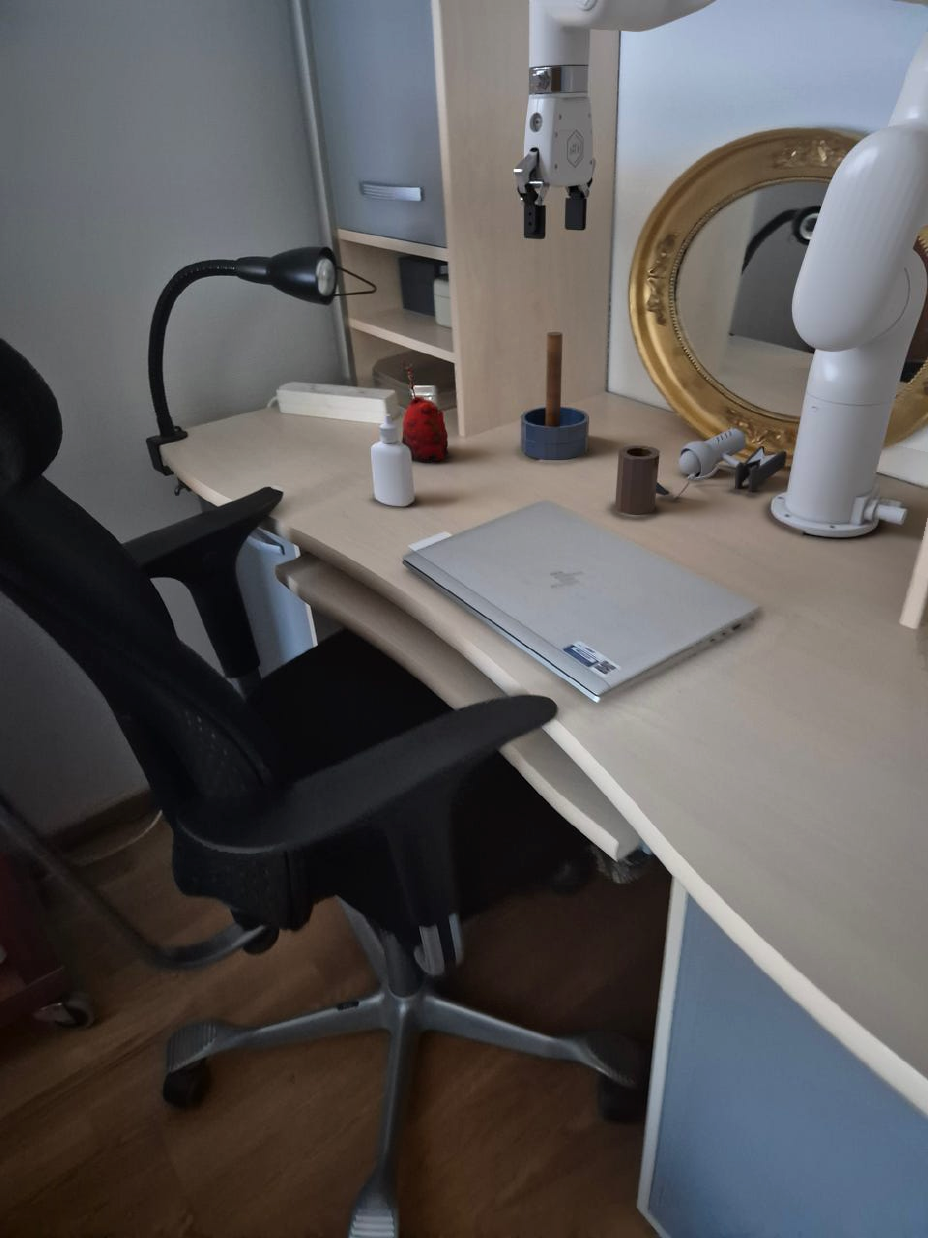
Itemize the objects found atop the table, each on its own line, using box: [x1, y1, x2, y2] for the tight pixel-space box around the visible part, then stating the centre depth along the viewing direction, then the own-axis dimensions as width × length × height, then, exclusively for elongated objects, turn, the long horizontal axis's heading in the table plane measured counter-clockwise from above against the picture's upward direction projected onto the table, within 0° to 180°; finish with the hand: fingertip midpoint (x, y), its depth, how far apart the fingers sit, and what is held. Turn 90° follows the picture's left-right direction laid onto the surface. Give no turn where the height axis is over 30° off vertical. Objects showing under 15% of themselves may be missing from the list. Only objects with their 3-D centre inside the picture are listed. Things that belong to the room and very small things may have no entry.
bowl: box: [520, 406, 590, 461], centre depth 123 cm, size 10×10×6 cm
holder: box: [614, 444, 660, 516], centre depth 103 cm, size 5×5×8 cm
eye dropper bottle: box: [370, 413, 415, 507], centre depth 108 cm, size 4×6×12 cm
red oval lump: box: [400, 360, 449, 463], centre depth 121 cm, size 8×7×15 cm
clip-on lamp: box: [656, 427, 788, 498], centre depth 110 cm, size 12×6×18 cm
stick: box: [545, 331, 564, 427], centre depth 120 cm, size 2×2×17 cm
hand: (555, 233), depth 111 cm, fingers open, 9 cm apart
